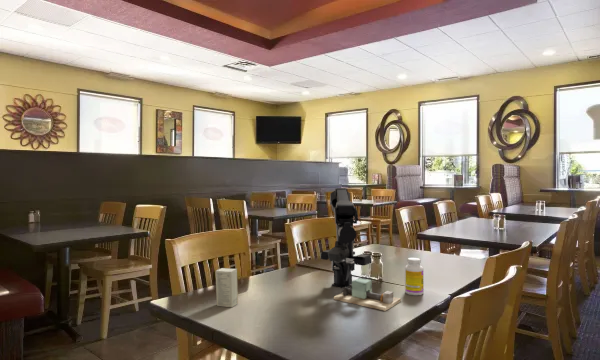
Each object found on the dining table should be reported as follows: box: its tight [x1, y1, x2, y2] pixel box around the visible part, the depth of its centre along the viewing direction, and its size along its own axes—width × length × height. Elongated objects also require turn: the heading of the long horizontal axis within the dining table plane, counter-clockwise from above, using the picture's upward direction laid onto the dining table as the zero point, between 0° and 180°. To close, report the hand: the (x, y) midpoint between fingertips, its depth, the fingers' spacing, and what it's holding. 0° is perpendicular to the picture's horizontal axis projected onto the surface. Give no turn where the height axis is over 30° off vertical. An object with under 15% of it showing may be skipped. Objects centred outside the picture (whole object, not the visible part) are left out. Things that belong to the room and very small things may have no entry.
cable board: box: [333, 284, 402, 312], centre depth 138 cm, size 20×12×4 cm, turn 52°
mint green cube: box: [352, 277, 373, 299], centre depth 139 cm, size 5×5×5 cm
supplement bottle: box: [404, 257, 424, 296], centre depth 146 cm, size 7×7×13 cm
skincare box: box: [215, 267, 239, 308], centre depth 134 cm, size 6×4×12 cm
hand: (345, 280), depth 144 cm, fingers closed
